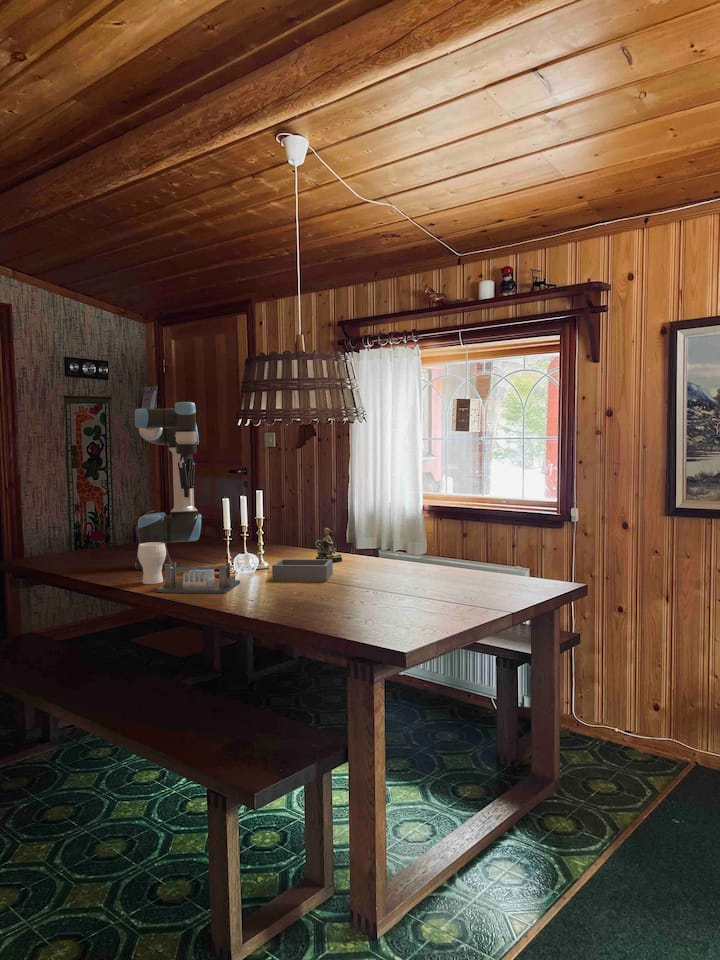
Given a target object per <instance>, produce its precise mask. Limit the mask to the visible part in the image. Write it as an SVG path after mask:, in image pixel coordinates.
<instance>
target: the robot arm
mask: <svg viewBox="0 0 720 960" xmlns="http://www.w3.org/2000/svg"><path fill="white" fill-rule="evenodd" d="M196 412H197V410H196V404H195V402H192V401H178V402H176V403H174V407H173V408H145V407H143V408H136V409H135V411H134V427H135V428H136V429H138V432H139V435H140V437H141V438H142V439H143V440H144V441H146V442H148V443H152V444H154V445H159V446H160V445H161V446H168V451H170V452H171V454H172V481H173V508H172V509H171V510H170V515H167V513H166V512H155V513H154V512H152V513H148V514H145V515H142V516H140V517H139V518H138V521H137V531H138V545H139V544H142V543H150V542H161V543H164V544H165V548H166V557H165V561H164V563H163V565H162V570H163V569H164V570H165V564H170V562H172V559H171V557H170V553H169V551H168V549H167V548H168V547H167V546H168V545H167V543H183V542H195V541H196V542H197V541H198V540H199V539H200V535H201V529H202V514H200V513H199V510H198V509H197V508H196V506H195V471H196V470H195V469H196V461H195V460H194V457H193V456H194V455H195V454H197V449H198V448H197V445H199V443H200V440H199V438H200V437H199V432H198V430H199V429H198V425H197V417H196V414H197V413H196ZM134 569H136V570H138V571H139V570H141V571H143V567H142V565H141V563H140V562H139V559H138V554H137V555H136V560H135V562H134Z"/></svg>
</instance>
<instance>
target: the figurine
mask: <svg viewBox="0 0 720 960" xmlns="http://www.w3.org/2000/svg"><path fill="white" fill-rule="evenodd" d="M323 533H324V536H323V538H322V540H316V542H315V543H314V544H315V545H314V547H315V550H316V552H317V556H316V557H315V559H329V560H332V561H333V564H338V563H341V562H343V557H342V554H341V553H337V548H336V547H334V546H333V545H334V542H333V540H332V538H331V537H333V531H332V530H331V529H330V528H328V527H324V528H323Z"/></svg>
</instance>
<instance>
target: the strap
mask: <svg viewBox="0 0 720 960" xmlns="http://www.w3.org/2000/svg"><path fill="white" fill-rule="evenodd" d="M219 565H226V568H228V565H227V564H223V563H216V564H214V565H195V566H193V565H192V566H191V565H190V566H176V567H174V566H171V571H176V572H177V571H189V570H206V569H209V570H211V569H214V570H219Z"/></svg>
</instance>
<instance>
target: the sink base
mask: <svg viewBox="0 0 720 960" xmlns="http://www.w3.org/2000/svg"><path fill="white" fill-rule="evenodd" d="M222 564H227V565H228V568H226V565H219V569H218V579H216V577H215V569H205V570H186V571H185V572H183V573H182V579H178V578H177V571H171V566H174V567H177V561H171V562H170V564H165V569H164V584H163V585H161V586H160V587H158V588H156V589H155V592H162V594H165V593H167V594H168V593H169V594H171V593H173V594H216V595H217V594H219V595H221V594H223V595H225V594H227V593H229V592H230V591H231V590H233V589H234V588H236V587H237V586H239V585H240V584H241V580H240V579H236V575H231V562H223V563H222Z"/></svg>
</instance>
